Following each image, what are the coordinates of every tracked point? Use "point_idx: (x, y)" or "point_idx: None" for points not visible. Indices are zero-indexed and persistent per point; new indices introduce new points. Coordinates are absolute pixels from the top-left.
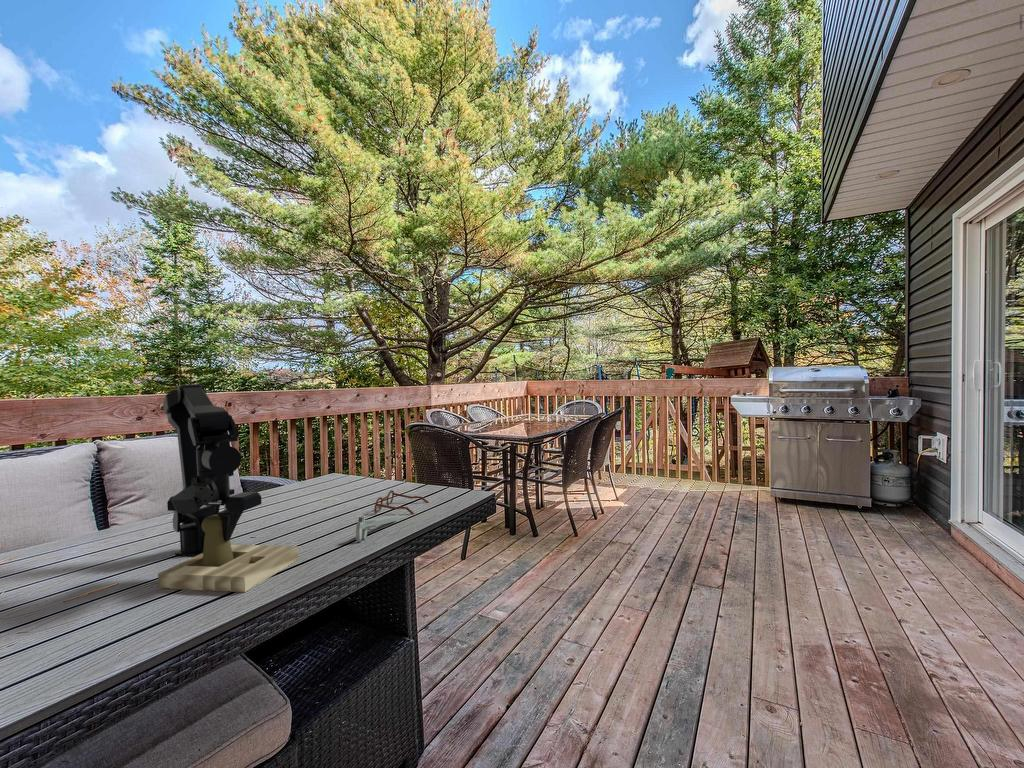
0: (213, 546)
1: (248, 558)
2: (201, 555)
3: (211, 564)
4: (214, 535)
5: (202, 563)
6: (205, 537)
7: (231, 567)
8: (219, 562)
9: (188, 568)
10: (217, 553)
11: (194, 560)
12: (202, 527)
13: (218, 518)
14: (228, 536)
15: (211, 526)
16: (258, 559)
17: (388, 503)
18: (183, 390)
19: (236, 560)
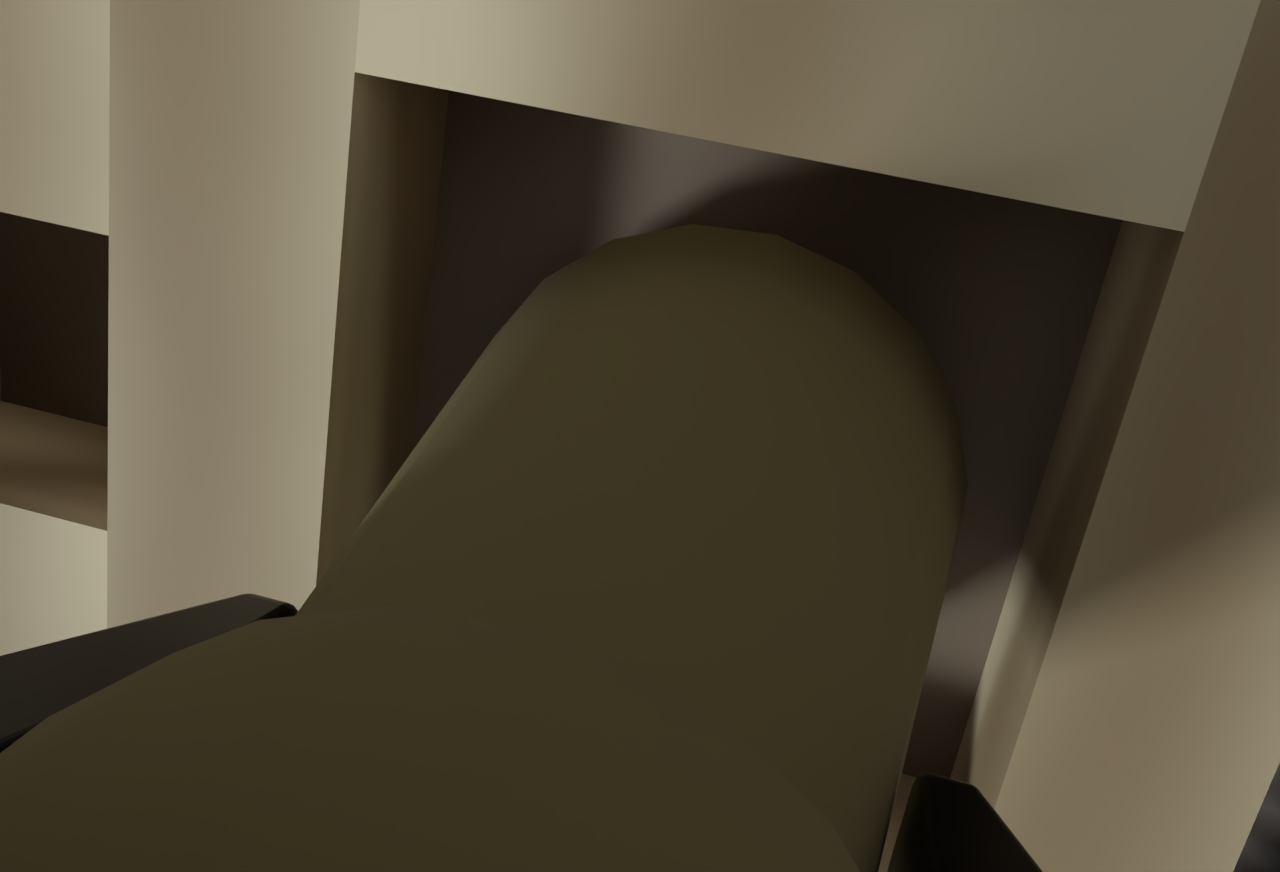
0: (504, 427)
1: (117, 464)
2: (1169, 771)
3: (638, 267)
4: (367, 598)
5: (881, 353)
6: (732, 626)
7: (83, 15)
8: (513, 324)
9: (1010, 54)
10: (483, 377)
11: (1162, 519)
12: (721, 820)
13: None
14: None
15: (161, 707)
16: (17, 479)
17: None
18: None
19: (234, 368)
